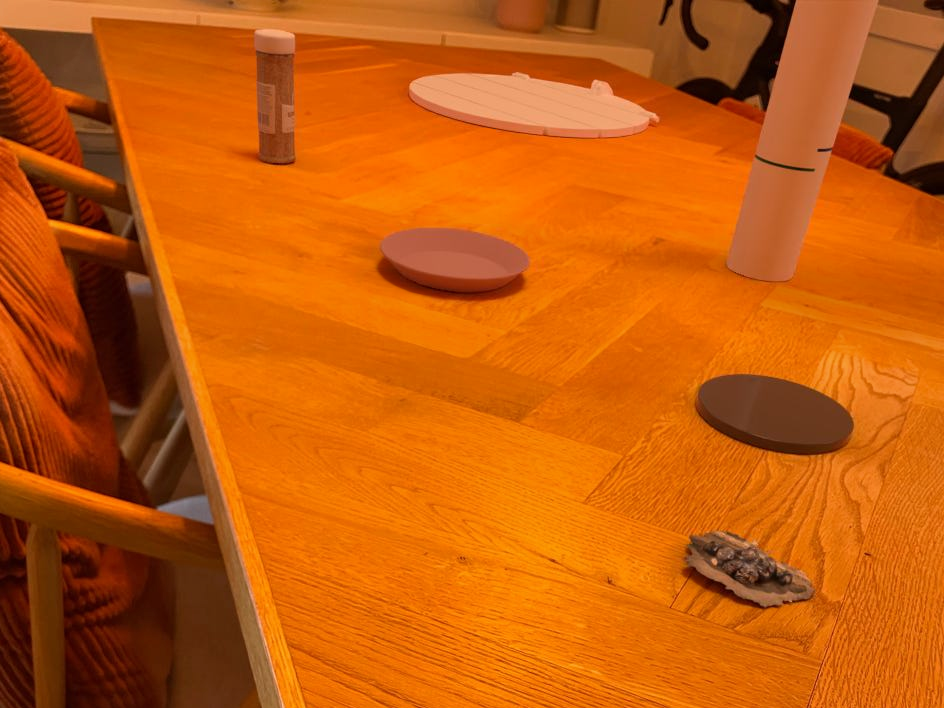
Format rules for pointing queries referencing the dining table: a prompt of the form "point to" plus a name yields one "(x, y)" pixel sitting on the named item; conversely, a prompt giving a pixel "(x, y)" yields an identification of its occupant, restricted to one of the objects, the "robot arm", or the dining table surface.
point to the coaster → (774, 413)
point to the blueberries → (747, 569)
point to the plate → (454, 258)
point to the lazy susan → (531, 105)
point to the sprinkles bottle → (275, 95)
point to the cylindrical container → (798, 134)
